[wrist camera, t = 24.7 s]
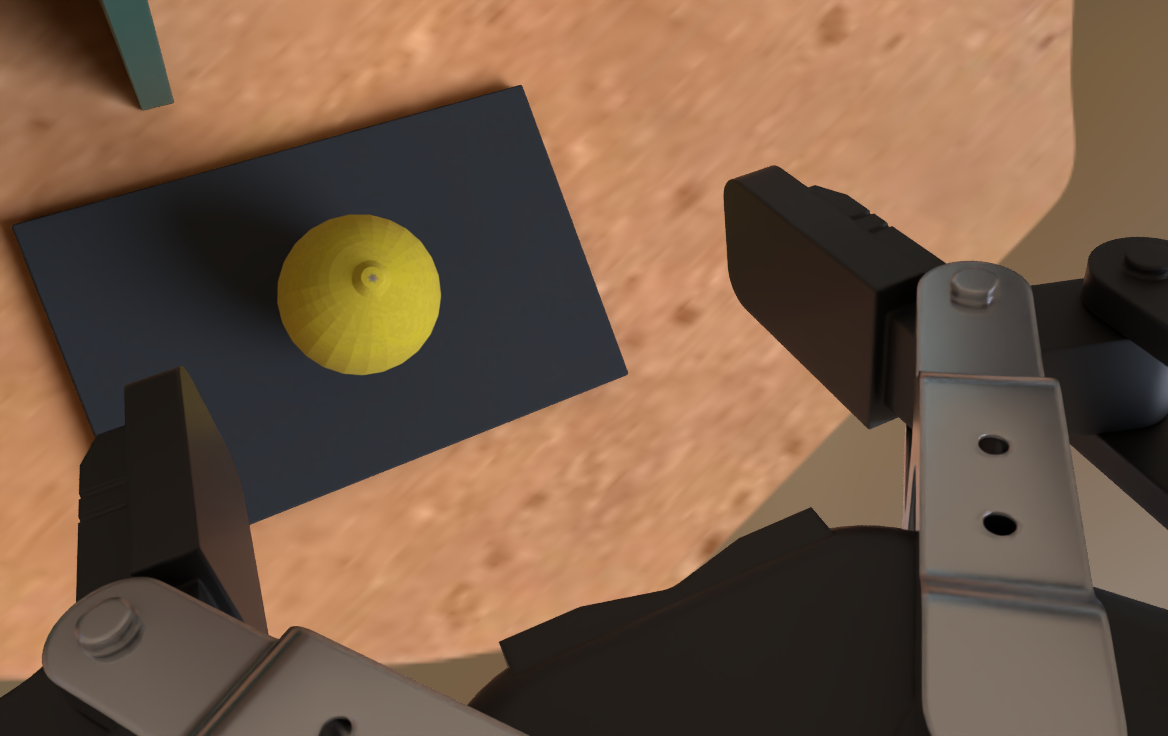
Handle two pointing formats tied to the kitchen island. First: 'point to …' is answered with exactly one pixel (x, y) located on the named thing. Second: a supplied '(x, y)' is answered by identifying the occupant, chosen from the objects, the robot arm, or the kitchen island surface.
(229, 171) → the mat
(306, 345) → the lemon
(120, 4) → the cupboard
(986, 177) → the kitchen island surface
